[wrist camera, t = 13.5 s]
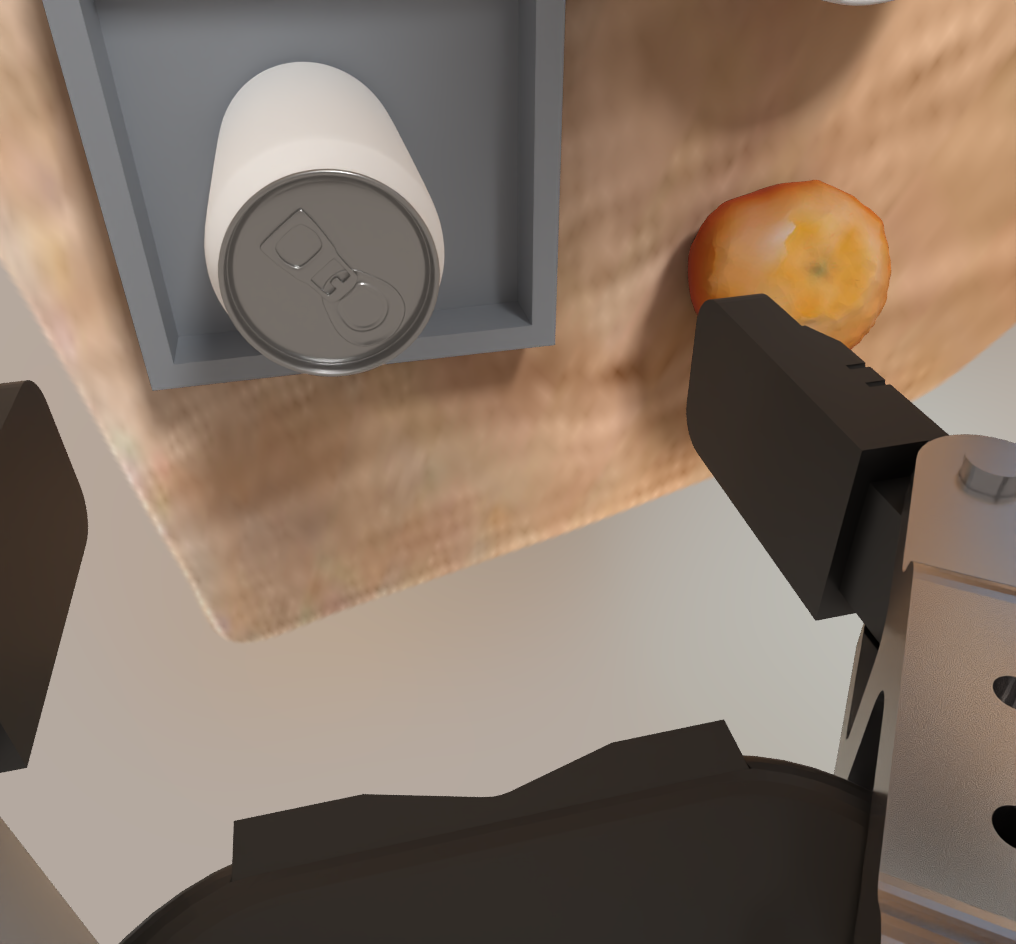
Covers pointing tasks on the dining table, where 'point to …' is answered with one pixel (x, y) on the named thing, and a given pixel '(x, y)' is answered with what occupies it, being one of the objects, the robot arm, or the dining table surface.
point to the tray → (407, 99)
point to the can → (320, 224)
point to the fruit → (797, 256)
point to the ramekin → (857, 2)
